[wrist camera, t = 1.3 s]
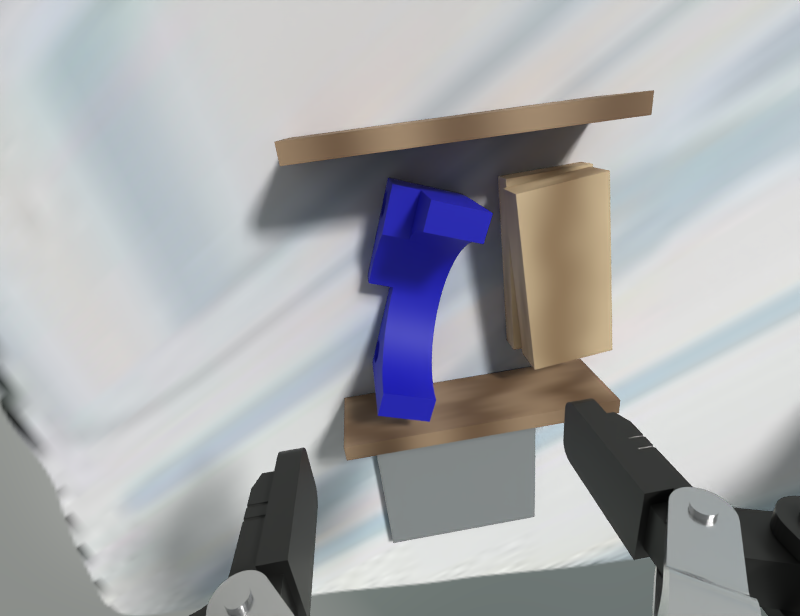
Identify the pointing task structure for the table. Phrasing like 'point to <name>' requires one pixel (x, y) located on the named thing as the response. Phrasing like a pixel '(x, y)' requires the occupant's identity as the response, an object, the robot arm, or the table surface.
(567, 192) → the upper offcut
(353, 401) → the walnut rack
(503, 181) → the lower offcut
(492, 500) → the rubber mat
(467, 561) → the table surface
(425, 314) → the blue curved piece
